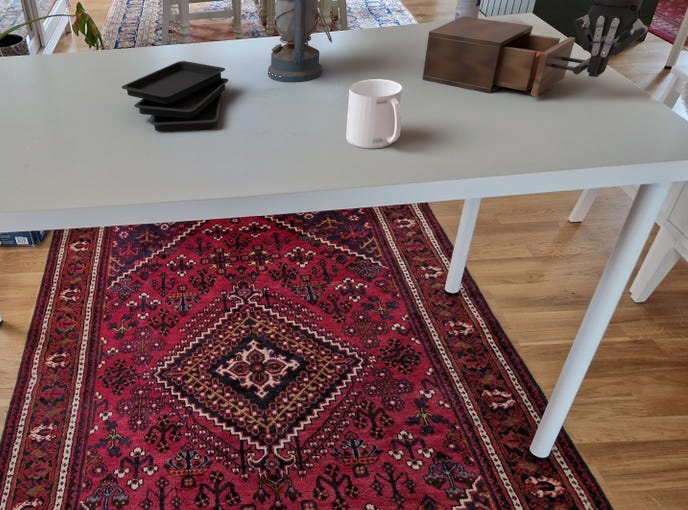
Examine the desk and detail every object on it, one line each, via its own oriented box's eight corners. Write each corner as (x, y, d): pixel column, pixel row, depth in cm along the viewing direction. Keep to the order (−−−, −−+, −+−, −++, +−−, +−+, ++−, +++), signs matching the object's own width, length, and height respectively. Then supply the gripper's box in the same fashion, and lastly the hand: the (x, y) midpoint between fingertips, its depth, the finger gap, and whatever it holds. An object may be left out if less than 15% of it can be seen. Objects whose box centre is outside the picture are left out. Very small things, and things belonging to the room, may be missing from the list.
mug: (338, 134, 122) (341, 83, 116) (381, 126, 123) (387, 76, 117) (365, 158, 113) (370, 105, 107) (412, 150, 114) (419, 97, 108)
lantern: (264, 62, 158) (263, -84, 139) (322, 58, 158) (329, -89, 138) (271, 88, 144) (270, -71, 124) (335, 84, 143) (344, -77, 123)
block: (538, 75, 132) (544, 52, 129) (528, 81, 130) (534, 57, 127) (517, 71, 135) (522, 48, 132) (507, 77, 133) (512, 54, 130)
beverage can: (477, 35, 163) (490, -33, 153) (455, 37, 163) (467, -31, 153) (470, 29, 167) (482, -37, 157) (449, 31, 167) (459, -35, 157)
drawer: (592, 83, 130) (605, 42, 125) (565, 102, 123) (578, 59, 118) (497, 66, 141) (505, 27, 136) (467, 83, 135) (475, 42, 130)
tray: (241, 127, 128) (240, 101, 125) (126, 140, 127) (121, 114, 124) (223, 80, 151) (221, 56, 147) (125, 91, 150) (121, 67, 146)
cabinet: (521, 74, 139) (533, 25, 133) (489, 93, 132) (500, 42, 126) (454, 62, 148) (462, 16, 142) (422, 79, 141) (429, 31, 135)
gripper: (579, -27, 114) (551, 74, 125) (660, -20, 106) (623, 88, 118) (596, -35, 118) (567, 64, 129) (676, -29, 110) (638, 76, 121)
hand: (594, 75), depth 123 cm, fingers closed
